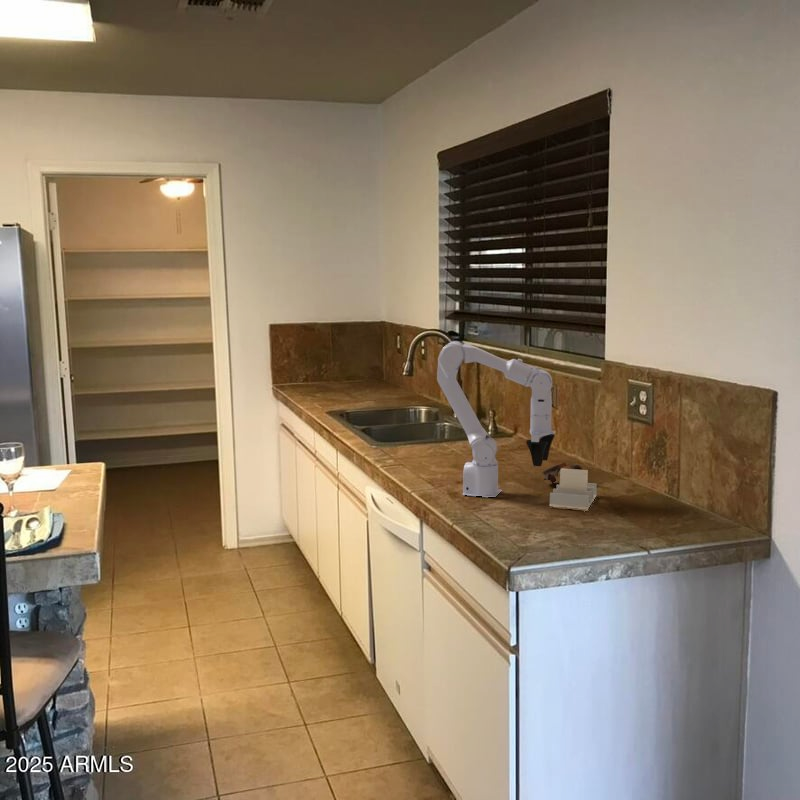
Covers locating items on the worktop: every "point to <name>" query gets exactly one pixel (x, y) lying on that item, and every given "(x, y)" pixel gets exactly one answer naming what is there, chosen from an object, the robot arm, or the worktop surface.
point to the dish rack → (573, 497)
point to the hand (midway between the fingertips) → (540, 462)
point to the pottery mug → (554, 470)
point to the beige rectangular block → (573, 479)
